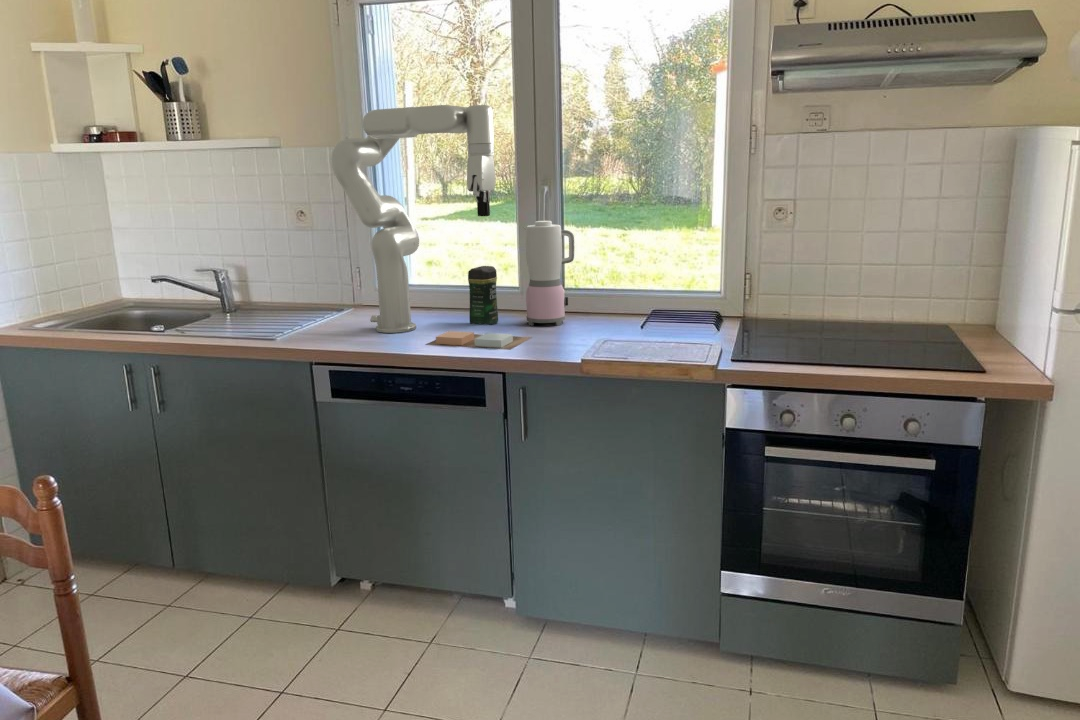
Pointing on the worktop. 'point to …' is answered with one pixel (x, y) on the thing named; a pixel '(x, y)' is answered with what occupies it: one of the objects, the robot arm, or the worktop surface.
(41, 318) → the worktop surface
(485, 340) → the grey-blue tile
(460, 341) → the terracotta tile
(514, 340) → the walnut board
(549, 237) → the blender
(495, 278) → the coffee jar
